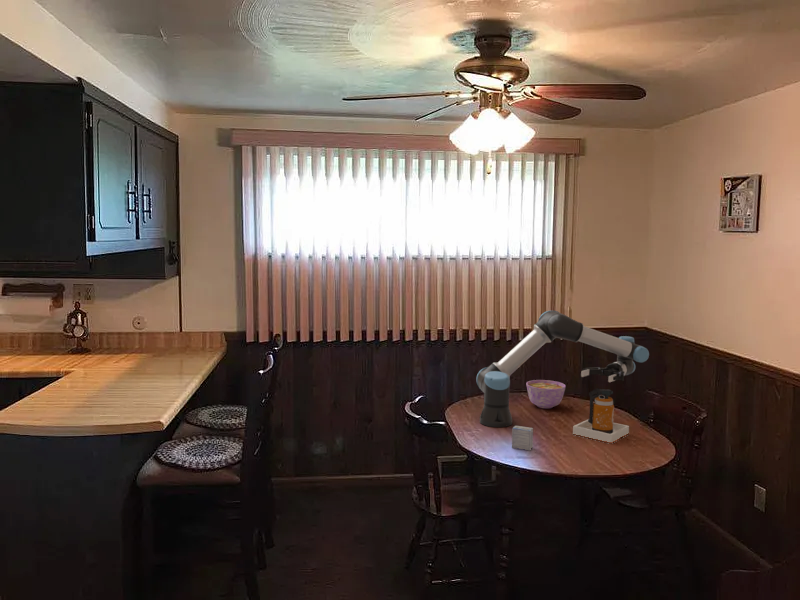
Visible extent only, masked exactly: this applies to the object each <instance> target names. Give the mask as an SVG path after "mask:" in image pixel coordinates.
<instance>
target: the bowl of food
mask: <svg viewBox="0 0 800 600" xmlns="http://www.w3.org/2000/svg"><path fill="white" fill-rule="evenodd" d="M526 389H527V395H528V398H529V401H530V402H531V403H532V404H533V405H535V406H537V407H538V408H539V409H552V408H553V407H556V406H558V405H559V404H560V403H561V402H562V400H563V397H564V395H565V391H566V384H564V383H563V382H560V381H556V380H555V381H554V380H549V379H548V380H545V379H536V380H535V379H533V380H529V381H526Z"/></svg>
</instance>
